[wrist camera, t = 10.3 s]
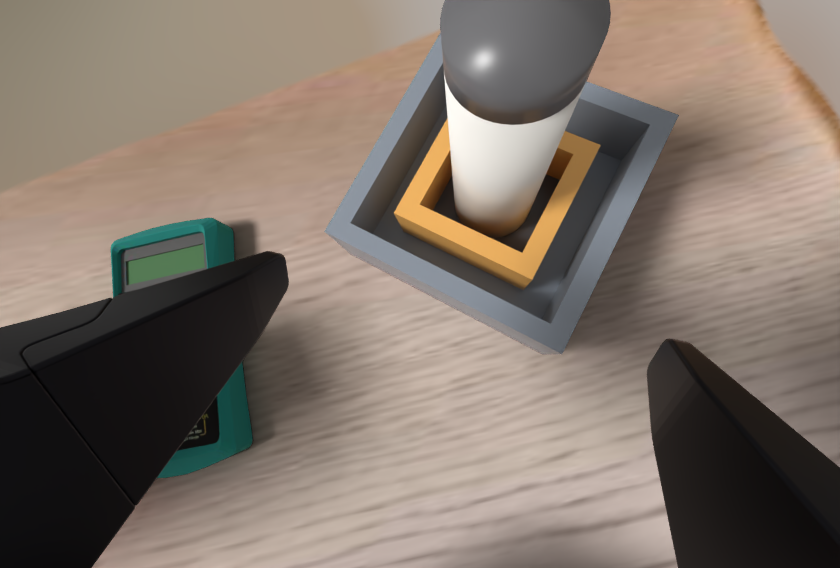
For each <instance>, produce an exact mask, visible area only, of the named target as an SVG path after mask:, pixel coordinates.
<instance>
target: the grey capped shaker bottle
mask: <svg viewBox="0 0 840 568" xmlns="http://www.w3.org/2000/svg"><path fill="white" fill-rule="evenodd" d="M610 14H611V12H610V3H609V0H445V2H444V5H443V8H442V12H441V18H440V30H441V43H442V55H443V67H444V79H445V91H446V104H447V116H448V128H449V140H450V152H451V165H452V177H453V189H454V201H455V210H456V214H457V216H458V219H459V220H460V222H461V223H462V224H463V225H464V226H466V227H468V228H470V229H473V230H475V231H477V232H479V233H481V234H483V235H485V236H487V237H490V238H498V237H503V236H506V235H509V234H511V233H513V232H514V231H516V230H517V229H518V228H519V227H520V226H521V225H522V224H523V223H524V222H525V220H526V218H527V216H528V214H529V212H530V210H531V207H532V205H533V203H534V200H535V198H536V196H537V193H538V191H539V189H540V187H541V184H542V182H543V180H544V177H545V175H546V173H547V171H548V168H549V166H550V164H551V161H552V159H553V157H554V154H555V152H556V150H557V148H558V145H559V143H560V141H561V138H562V136H563V134H564V132H565V129H566V127H567V125H568V122H569V120H570V118H571V116H572V113H573V111H574V109H575V106H576V104H577V102H578V99H579V97H580V95H581V93H582V90H583V88H584V86H585V83H586V81H587V79H588V77H589V74H590V72H591V70H592V67H593V65H594V63H595V60H596V58H597V56H598V54H599V51H600V49H601V47H602V44H603V42H604V40H605V37H606V35H607V32H608V28H609V24H610Z"/></svg>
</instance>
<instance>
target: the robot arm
mask: <svg viewBox="0 0 840 568" xmlns="http://www.w3.org/2000/svg"><path fill="white" fill-rule="evenodd" d="M288 285H289V279H288V273H287V266H286V260H285V257H284V256H283V255H282V254H280V253H275V252H270V251H266V252H262V253H259V254H256V255H252V256H249V257H246V258H242V259H239V260H235V261H232V262H229V263H225V264H222V265H219V266H215V267H212V268H209V269H205V270H202V271H199V272H195V273H192V274H189V275H185V276H182V277H178V278H175V279H172V280H168V281H165V282H162V283H158V284H155V285H152V286H148V287H145V288H142V289H138V290H135V291H131V292H128V293H125V294H121V295H118V296H115V297H114V298H113V299H112V298H108V299H104V300H101V301H98V302H94V303H91V304H87V305H84V306H80V307H77V308H73V309H70V310H66V311H63V312H59V313H55V314H52V315H48V316H44V317H40V318H36V319H32V320H29V321H25V322H21V323H17V324H13V325H9V326H5V327H1V328H0V568H92V566H93V565H94V563H95V562H96V561H97V559H98V558H99V557H100V555H101V554H102V553H103V551H104V550H105V548H106V547H107V546H108V544H109V543H110V542H111V540H112V539H113V538H114V536H115V535H116V533H117V532H118V531H119V529H120V528H121V527H122V525H123V524H124V522H125V521H126V520H127V518H128V517H129V516H130V514H131V513H132V512H133V510H134V509H135V505H137V504H138V503H139V502H140V500H141V499H142V497H143V496H144V495H145V493H146V492H147V491H148V489H149V488H150V487H151V485H152V484H153V482H154V481H155V480H156V478H157V477H158V476H159V474H160V473H161V472H162V470H163V469H164V467H165V466H166V465H167V463H168V462H169V461H170V459H171V458H172V456H173V455H174V454H175V452H176V451H177V450H178V448H179V447H180V446H181V444H182V443H183V441H184V440H185V439H186V437H187V436H188V435H189V433H190V432H191V431H192V429H193V428H194V426H195V425H196V424H197V422H198V421H199V420H200V418H201V417H202V415H203V414H204V413H205V411H206V410H207V409H208V407H209V406H210V405H211V403H212V402H213V400H214V399H215V398H216V396H217V395H218V394H219V392H220V391H221V390H222V388H223V387H224V385H225V384H226V383H227V381H228V380H229V379H230V377H231V376H232V374H233V373H234V372H235V370H236V369H237V368H238V366H239V365H240V364H241V362H242V361H243V359H244V358H245V357H246V355H247V354H248V353H249V351H250V350H251V349H252V347H253V346H254V344H255V343H256V342H257V340H258V339H259V337H260V336H261V334H262V332H263V331H264V329H265V327H266V326H267V324H268V322H269V321H270V319H271V317H272V315H273V314H274V312H275V310H276V308H277V307H278V305H279V303H280V301H281V300H282V298H283V296H284V294H285V293H286V291H287V288H288ZM647 382H648V395H649V409H650V422H651V433H652V440H653V446H654V451H655V456H656V461H657V466H658V471H659V476H660V481H661V486H662V491H663V496H664V501H665V506H666V511H667V516H668V521H669V526H670V530H671V535H672V540H673V545H674V550H675V555H676V560H677V565H678V568H840V467H838V466H837V465H836V464H835V463H834V462H832V461H831V460H830V459H829V458H828V457H826V456H825V455H824V454H823V453H822V452H820V451H819V450H818V449H817V448H816V447H814V446H813V445H812V444H811V443H810V442H808V441H807V440H806V439H805V438H803V437H802V436H801V435H800V434H799V433H797V432H796V431H795V430H794V429H793V428H791V427H790V426H789V425H788V424H787V423H785V422H784V421H783V420H782V419H781V418H779V417H778V416H777V415H776V414H775V413H773V412H772V411H771V410H770V409H769V408H767V407H766V406H765V405H764V404H763V403H761V402H760V401H759V400H758V399H757V398H755V397H754V396H753V395H752V394H750V393H749V392H748V391H747V390H746V389H744V388H743V387H742V386H741V385H740V384H738V383H737V382H736V381H735V380H734V379H732V378H731V377H730V376H729V375H728V374H726V373H725V372H724V371H723V370H722V369H720V368H719V367H718V366H717V365H716V364H714V363H713V362H712V361H711V360H710V359H708V358H707V357H706V356H705V355H704V354H702V353H701V352H700V351H699V350H698V349H696V348H695V347H694V346H693V345H692V344H690V343H688V342H684V341H680V340H675V339H666V340H665V341H664V342H663V343H662V345H661V346H660V348H659V349H658V351H657V352H656V354H655V356H654V357H653V359H652V360H651V362H650V364H649V366H648V370H647Z"/></svg>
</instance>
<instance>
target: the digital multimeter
mask: <svg viewBox="0 0 840 568" xmlns="http://www.w3.org/2000/svg"><path fill="white" fill-rule="evenodd" d="M232 261H234V236H233V230H232V228H230V227H229V226H227V225H225V224H223V223H221V222H219V221H217V220H215V219H214V218H205V219H198V220H190V221H184V222H179V223H173V224H168V225H164V226H160V227H156V228H152V229H149V230H145V231H142V232H139V233H136V234H133V235H130V236H127V237H124V238H121V239H118V240H116V241H114V242H113V244H112V245H111V264H112V282H113V298H114V297H115V296H118V295H121V294H125V293H128V292H131V291H135V290H138V289H142V288H145V287H148V286H152V285H155V284H158V283H162V282H165V281H168V280H172V279H175V278H178V277H182V276H185V275H189V274H192V273H195V272H199V271H202V270H205V269H209V268H212V267H215V266H219V265H222V264H225V263H229V262H232ZM217 405H218V406H217ZM218 416H219V419H218ZM219 430H220V432H219ZM252 440H253V437H252V430H251V424H250V417H249V410H248V403H247V397H246V389H245V381H244V372H243V364H242V362H241V364H240V365H239V366H238V368H237V369H236V370H235V372H234V373H233V374H232V376H231V377H230V379H229V380H228V381H227V383H226V384H225V385H224V387H223V388H222V390H221V391H220V392H219V394H218V395H217V396H216V398H215V399H214V400H213V402H212V403H211V405H210V406H209V407H208V409H207V410H206V411H205V413H204V414H203V415H202V417H201V418H200V420H199V421H198V422H197V424H196V425H195V426H194V428H193V429H192V431H191V432H190V433H189V435H188V436H187V437H186V439H185V440H184V441H183V443H182V444H181V446H180V447H179V448H178V450H177V451H176V452H175V454H174V455H173V456H172V458H171V459H170V461H169V462H168V463H167V465H166V466H165V467H164V469H163V470H162V472H161V473H160V474H159V476H158V477H157V478H168V477H173V476H179V475H185V474H188V473H191V472H194V471H197V470H199V469H202V468H205V467H208V466H210V465H212V464H214V463H217V462H219V461H221V460H224V459H226V458H228V457H230V456H232V455H234V454H237V453H239V452H241V451H243V450H245V449H247V448H249V447H250V446H251V444H252ZM199 446H200V447H199ZM188 448H189V449H188Z"/></svg>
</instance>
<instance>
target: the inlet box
mask: <svg viewBox="0 0 840 568" xmlns="http://www.w3.org/2000/svg"><path fill="white" fill-rule="evenodd" d="M678 116H679V115H677V114H674V113H672V112H669V111H666V110H663V109H661V108H658V107H655V106H652V105H650V104H647V103H644V102H641V101H639V100H636V99H633V98H630V97H628V96H625V95H622V94H619V93H617V92H614V91H611V90H608V89H606V88H603V87H600V86H597V85H594V84H592V83H589V82H586V83H585V86H584V88H583V90H582V93H581V95H580V97H579V99H578V102H577V104H576V106H575V109H574V111H573V113H572V116H571V118H570V120H569V122H568V125H567V127H566V129H565V132H564V134H563V136H562V138H561V141H560V143H559V145H558V148H557V150H556V152H555V154H554V157H553V159H552V161H551V164H550V166H549V168H548V171H547V173H546V175H545V177H544V180H543V182H542V184H541V187H540V189H539V191H538V193H537V196H536V198H535V200H534V203H533V205H532V207H531V210H530V212H529V214H528V216H527V218H526V220H525V222H524V223H523V224H522V225H521V226H520V227H519V228H518V229H517V230H516V231H514V232H513V233H511V234H509V235H506V236H503V237H498V238H490V237H487V236H485V235H483V234H481V233H479V232H477V231H475V230H473V229H470V228H468V227H466V226H464V225H463V224H462V223H461V222H460V220H459V219H458V216H457V214H456V210H455V201H454V189H453V177H452V165H451V152H450V140H449V128H448V116H447V104H446V91H445V79H444V67H443V55H442V43H441V33H440V35H439V36H438V38H437V40H436V42H435V43H434V45H433V47H432V48H431V50H430V52H429V53H428V55H427V57H426V59H425V60H424V62H423V64H422V65H421V67H420V69H419V71H418V72H417V74H416V76H415V77H414V79H413V81H412V83H411V84H410V86H409V88H408V89H407V91H406V93H405V95H404V96H403V98H402V100H401V101H400V103H399V105H398V106H397V108H396V110H395V112H394V113H393V115H392V117H391V118H390V120H389V122H388V124H387V125H386V127H385V129H384V130H383V132H382V134H381V136H380V137H379V139H378V141H377V142H376V144H375V146H374V148H373V149H372V151H371V153H370V154H369V156H368V158H367V160H366V161H365V163H364V165H363V166H362V168H361V170H360V171H359V173H358V175H357V177H356V178H355V180H354V182H353V183H352V185H351V187H350V189H349V190H348V192H347V194H346V195H345V197H344V199H343V201H342V202H341V204H340V206H339V207H338V209H337V211H336V213H335V214H334V216H333V218H332V219H331V221H330V223H329V225H328V226H327V228H326V230H325V231H324V232H326V233H327V234H328V235H329V236H330V237H331V238H333V239H334V240H335V241H336V242H337V243H338V244H340V245H341V246H342V247H343V248H344V249H345V250H346V251H348V252H349V253H350V254H351V255H353V256H355V257H357V258H359V259H361V260H363V261H365V262H367V263H369V264H371V265H372V266H374V267H376V268H378V269H380V270H382V271H384V272H386V273H388V274H390V275H392V276H394V277H395V278H397V279H399V280H401V281H403V282H405V283H407V284H409V285H411V286H413V287H415V288H417V289H418V290H420V291H422V292H424V293H426V294H428V295H430V296H432V297H434V298H436V299H438V300H440V301H441V302H443V303H445V304H447V305H449V306H451V307H453V308H455V309H457V310H459V311H461V312H463V313H464V314H466V315H468V316H470V317H472V318H474V319H476V320H478V321H480V322H482V323H484V324H486V325H487V326H489V327H491V328H493V329H495V330H497V331H499V332H501V333H503V334H505V335H507V336H509V337H510V338H512V339H514V340H516V341H518V342H520V343H522V344H524V345H526V346H528V347H530V348H532V349H533V350H535V351H537V352H539V353H541V354H562V353H563V351H564V349H565V347H566V345H567V343H568V341H569V339H570V337H571V335H572V333H573V331H574V329H575V327H576V325H577V323H578V321H579V319H580V316H581V314H582V312H583V310H584V308H585V306H586V304H587V302H588V300H589V298H590V296H591V294H592V292H593V290H594V288H595V286H596V284H597V282H598V280H599V278H600V276H601V274H602V271H603V269H604V267H605V265H606V263H607V261H608V259H609V257H610V255H611V253H612V251H613V249H614V247H615V245H616V243H617V241H618V239H619V237H620V235H621V233H622V231H623V229H624V226H625V224H626V222H627V220H628V218H629V216H630V214H631V212H632V210H633V208H634V206H635V204H636V202H637V200H638V198H639V196H640V194H641V192H642V190H643V188H644V186H645V183H646V181H647V179H648V177H649V175H650V173H651V171H652V169H653V167H654V165H655V163H656V161H657V159H658V157H659V155H660V153H661V151H662V149H663V147H664V145H665V143H666V141H667V138H668V136H669V134H670V132H671V130H672V128H673V126H674V124H675V122H676V120H677V118H678Z"/></svg>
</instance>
